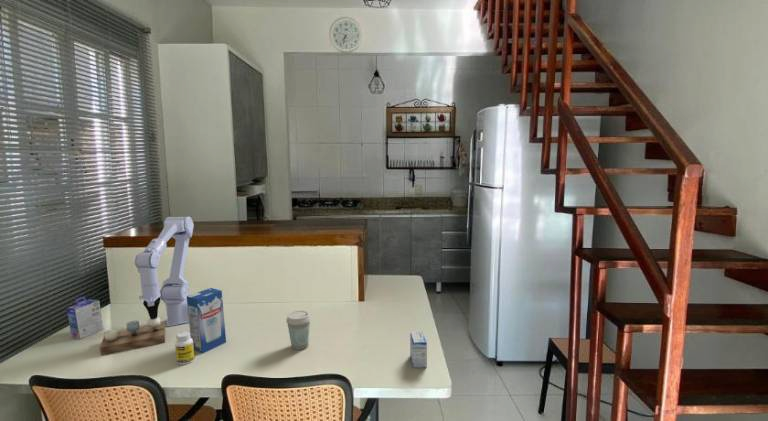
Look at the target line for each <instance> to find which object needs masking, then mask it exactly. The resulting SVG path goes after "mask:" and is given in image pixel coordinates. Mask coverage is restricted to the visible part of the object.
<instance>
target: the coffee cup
mask: <svg viewBox="0 0 768 421" xmlns="http://www.w3.org/2000/svg"><path fill="white" fill-rule="evenodd" d="M311 319H312V318H311V315H310V313H309V312H308V311H305V310H297V311H292V312H289V313H288V314H287V317H286V323H287V329H288V333H289V334H288V335H289V339H290V343H291V349H292V350H295V351H303V350H305V349H308V347H309V340H310V339H309V338H310V323H311Z"/></svg>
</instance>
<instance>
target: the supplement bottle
mask: <svg viewBox="0 0 768 421" xmlns="http://www.w3.org/2000/svg"><path fill="white" fill-rule="evenodd" d="M174 344H175V354H176V355H175V356H176V362H177V364H178V365H181V366H182V365H188V364H191V363H193V362H194V361H195V350H194V348H193V340H192V338H191V335H190V331H181V332H178V333H177V334H176V341H175V343H174Z"/></svg>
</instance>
